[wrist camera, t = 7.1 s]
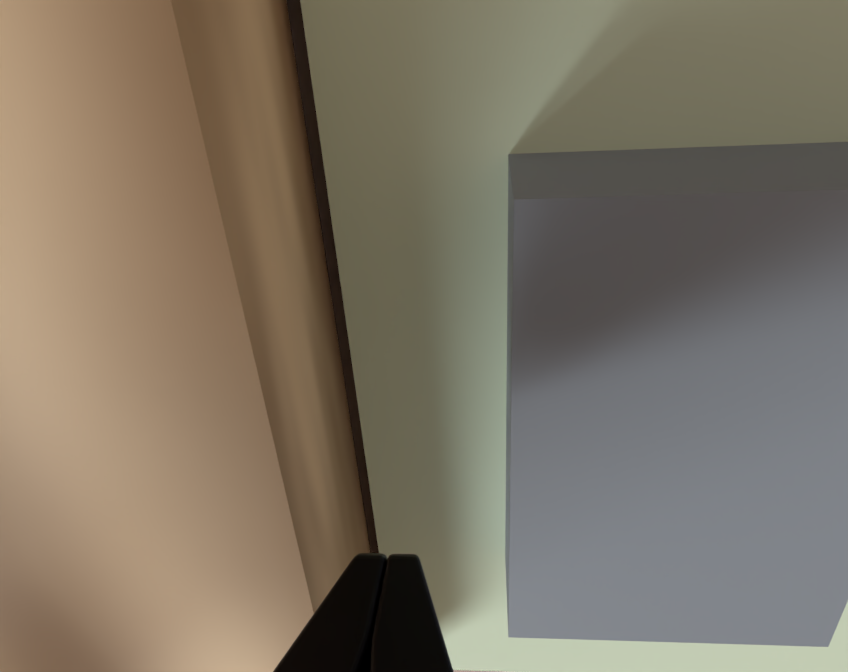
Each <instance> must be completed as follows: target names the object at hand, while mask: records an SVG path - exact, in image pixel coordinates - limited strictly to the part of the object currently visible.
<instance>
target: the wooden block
mask: <svg viewBox="0 0 848 672" xmlns="http://www.w3.org/2000/svg"><path fill="white" fill-rule="evenodd" d="M360 553H370V546H369V540H368V533H367V527H366V520H365V513H364V507H363V500H362V494H361V487H360V481H359V474H358V467H357V461H356V454H355V448H354V441H353V435H352V428H351V422H350V415H349V408H348V402H347V395H346V389H345V382H344V376H343V369H342V362H341V356H340V349H339V343H338V336H337V330H336V323H335V316H334V310H333V303H332V297H331V290H330V284H329V277H328V270H327V264H326V257H325V251H324V244H323V238H322V231H321V224H320V218H319V211H318V205H317V198H316V192H315V185H314V178H313V172H312V165H311V159H310V152H309V146H308V139H307V132H306V126H305V119H304V113H303V106H302V100H301V93H300V87H299V80H298V73H297V67H296V60H295V54H294V47H293V41H292V34H291V27H290V21H289V14H288V8H287V1H286V0H0V672H273V671H274V669H275V668H276V666H277V665H278V664H279V662H280V661H281V659H282V658H283V657H284V655H285V654H286V652H287V651H288V650H289V648H290V647H291V645H292V644H293V642H294V641H295V640H296V638H297V637H298V635H299V634H300V633H301V631H302V630H303V628H304V627H305V625H306V624H307V623H308V621H309V620H310V618H311V617H312V616H313V614H314V613H315V611H316V610H317V608H318V607H319V606H320V604H321V603H322V601H323V600H324V599H325V597H326V596H327V594H328V593H329V591H330V590H331V589H332V587H333V586H334V584H335V583H336V582H337V580H338V579H339V577H340V576H341V575H342V573H343V572H344V570H345V569H346V567H347V566H348V565H349V563H350V562H351V560H352V559H353V558H354V557H355V556H356V555H357V554H360Z"/></svg>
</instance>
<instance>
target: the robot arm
mask: <svg viewBox="0 0 848 672" xmlns="http://www.w3.org/2000/svg"><path fill="white" fill-rule="evenodd" d="M273 672H453V668H452V665H451V662H450V658H449V655H448V652H447V648H446V645H445V641H444V638H443V635H442V631H441V628H440V625H439V621H438V618H437V615H436V611H435V608H434V605H433V601H432V598H431V594H430V591H429V588H428V584H427V581H426V578H425V574H424V571H423V568H422V564H421V561H420V558H419V557H418V555H416V554H391V555H389V557H388V558H387V556H386V555H385V554H382V553H360V554H357V555H356V556H355V557H354V558H353V559H352V560H351V562H350V563H349V565H348V566H347V567H346V569H345V570H344V572H343V573H342V575H341V576H340V577H339V579H338V580H337V582H336V583H335V584H334V586H333V587H332V589H331V590H330V591H329V593H328V594H327V596H326V597H325V599H324V600H323V601H322V603H321V604H320V606H319V607H318V608H317V610H316V611H315V613H314V614H313V616H312V617H311V618H310V620H309V621H308V623H307V624H306V625H305V627H304V628H303V630H302V631H301V633H300V634H299V635H298V637H297V638H296V640H295V641H294V642H293V644H292V645H291V647H290V648H289V650H288V651H287V652H286V654H285V655H284V657H283V658H282V659H281V661H280V662H279V664H278V665H277V666H276V668H275V669H274V671H273Z"/></svg>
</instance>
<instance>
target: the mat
mask: <svg viewBox="0 0 848 672" xmlns="http://www.w3.org/2000/svg"><path fill="white" fill-rule="evenodd" d="M300 3H301V10H302V17H303V24H304V31H305V38H306V45H307V52H308V59H309V66H310V73H311V80H312V87H313V94H314V101H315V108H316V115H317V122H318V129H319V136H320V143H321V150H322V157H323V164H324V171H325V178H326V186H327V193H328V200H329V207H330V214H331V221H332V228H333V235H334V242H335V249H336V256H337V263H338V270H339V277H340V284H341V291H342V298H343V305H344V312H345V319H346V326H347V333H348V340H349V347H350V354H351V361H352V368H353V375H354V382H355V389H356V396H357V403H358V410H359V417H360V424H361V431H362V438H363V445H364V452H365V459H366V466H367V473H368V480H369V487H370V494H371V501H372V508H373V515H374V522H375V529H376V536H377V543H378V550H379V553H382V554H385V555H386V556H387V558H388V557H389V555H391V554H416V555H418V557H419V558H420V561H421V564H422V568H423V571H424V574H425V578H426V581H427V584H428V588H429V591H430V594H431V598H432V601H433V605H434V608H435V611H436V615H437V618H438V621H439V625H440V628H441V631H442V635H443V638H444V641H445V645H446V648H447V652H448V655H449V658H450V662H451V665H452V668H453V670H472V671H503V672H848V601H847V604H846V606H845V608H844V611H843V613H842V616H841V618H840V620H839V623H838V625H837V627H836V630H835V632H834V635H833V637H832V639H831V642H830V644H829V646H828V647H811V646H778V645H744V644H711V643H678V642H645V641H612V640H579V639H545V638H512V637H508V617H507V591H506V565H505V514H506V390H507V265H508V154H524V153H551V152H579V151H606V150H634V149H661V148H689V147H716V146H744V145H771V144H799V143H827V142H848V0H300Z"/></svg>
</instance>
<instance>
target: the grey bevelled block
mask: <svg viewBox="0 0 848 672" xmlns="http://www.w3.org/2000/svg"><path fill="white" fill-rule="evenodd" d="M505 565H506V591H507V617H508V637H512V638H545V639H579V640H612V641H645V642H678V643H711V644H744V645H778V646H811V647H828V646H829V644H830V642H831V639H832V637H833V635H834V632H835V630H836V627H837V625H838V623H839V620H840V618H841V616H842V613H843V611H844V608H845V606H846V604H847V601H848V142H827V143H799V144H771V145H744V146H716V147H689V148H661V149H634V150H606V151H579V152H551V153H524V154H508V265H507V390H506V514H505Z"/></svg>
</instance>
